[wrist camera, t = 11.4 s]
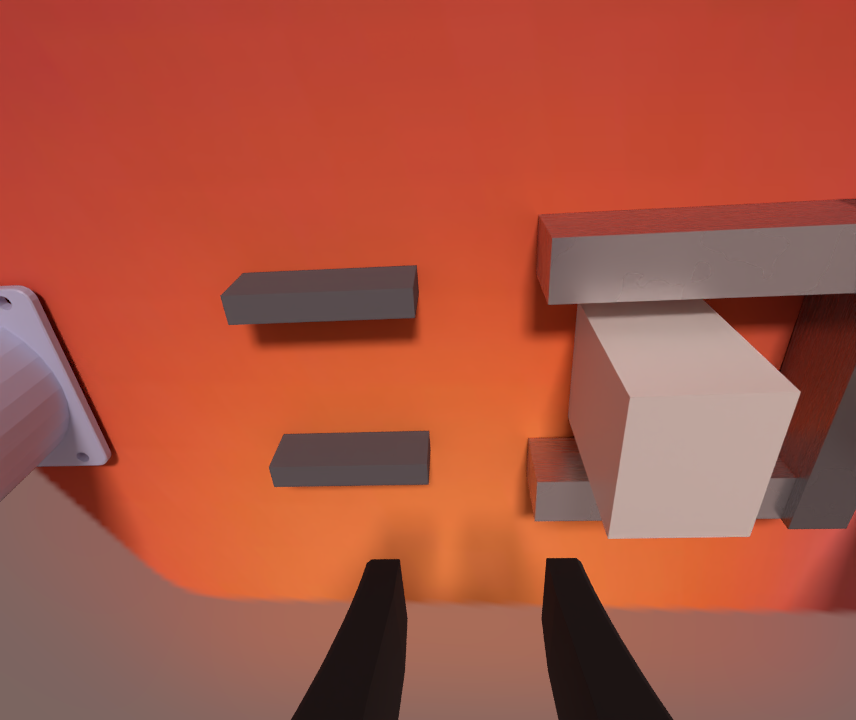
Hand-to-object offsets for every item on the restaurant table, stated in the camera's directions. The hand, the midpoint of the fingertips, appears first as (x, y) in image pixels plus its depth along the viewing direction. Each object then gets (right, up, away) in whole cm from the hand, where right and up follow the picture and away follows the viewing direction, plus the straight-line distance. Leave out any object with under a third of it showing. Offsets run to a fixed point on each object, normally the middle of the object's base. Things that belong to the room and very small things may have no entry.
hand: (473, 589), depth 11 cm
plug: (+6, +5, +8) cm, 11 cm away
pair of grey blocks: (-4, +5, +8) cm, 10 cm away
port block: (+8, +5, +8) cm, 12 cm away
